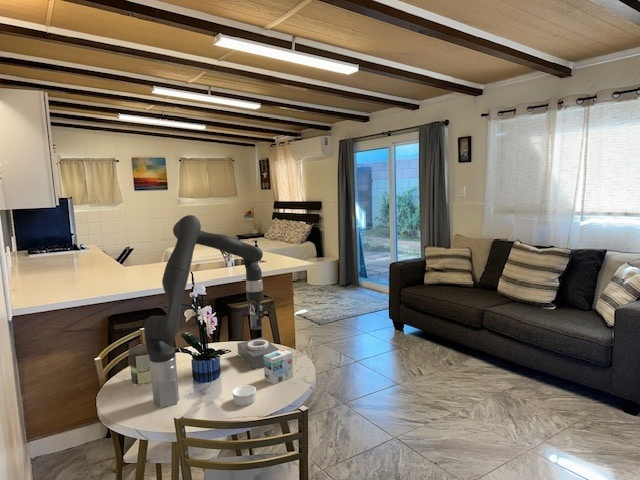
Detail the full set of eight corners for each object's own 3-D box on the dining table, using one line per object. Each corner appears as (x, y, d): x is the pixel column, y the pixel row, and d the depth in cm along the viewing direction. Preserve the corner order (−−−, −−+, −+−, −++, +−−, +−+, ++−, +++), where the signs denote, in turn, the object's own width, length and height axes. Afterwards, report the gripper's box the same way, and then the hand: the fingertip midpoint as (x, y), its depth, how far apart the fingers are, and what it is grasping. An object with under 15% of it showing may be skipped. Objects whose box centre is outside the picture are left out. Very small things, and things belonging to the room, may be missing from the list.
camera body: (280, 362, 197) (279, 346, 196) (254, 369, 190) (253, 353, 189) (263, 349, 214) (262, 334, 213) (238, 355, 207) (237, 340, 206)
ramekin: (235, 395, 167) (235, 385, 167) (258, 395, 167) (257, 384, 167) (230, 407, 159) (229, 396, 158) (254, 407, 158) (253, 395, 158)
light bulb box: (273, 385, 175) (271, 359, 174) (263, 379, 180) (262, 355, 179) (294, 376, 182) (293, 352, 181) (284, 371, 187) (283, 347, 186)
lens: (265, 328, 199) (264, 311, 198) (253, 330, 196) (252, 313, 195) (260, 325, 204) (259, 308, 203) (248, 327, 201) (247, 310, 200)
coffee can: (126, 385, 179) (123, 353, 177) (140, 375, 189) (137, 344, 187) (149, 386, 178) (146, 353, 176) (162, 375, 188) (159, 344, 186)
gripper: (268, 290, 194) (270, 327, 196) (256, 285, 206) (258, 319, 208) (253, 293, 190) (255, 330, 192) (241, 287, 202) (243, 322, 204)
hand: (256, 324), depth 200 cm, fingers closed on lens, 5 cm apart
